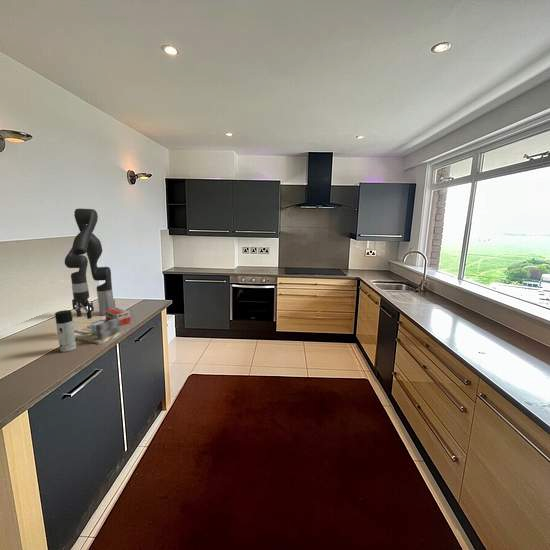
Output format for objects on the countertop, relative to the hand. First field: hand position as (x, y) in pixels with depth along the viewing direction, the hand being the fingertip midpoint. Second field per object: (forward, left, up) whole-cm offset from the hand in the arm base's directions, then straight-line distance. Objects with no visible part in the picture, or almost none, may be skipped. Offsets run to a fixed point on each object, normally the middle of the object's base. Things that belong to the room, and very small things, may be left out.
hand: (84, 317), depth 167 cm
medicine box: (-20, +2, -10) cm, 22 cm away
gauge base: (0, +8, -10) cm, 13 cm away
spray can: (+18, +12, -10) cm, 24 cm away
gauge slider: (+2, +13, -8) cm, 15 cm away
